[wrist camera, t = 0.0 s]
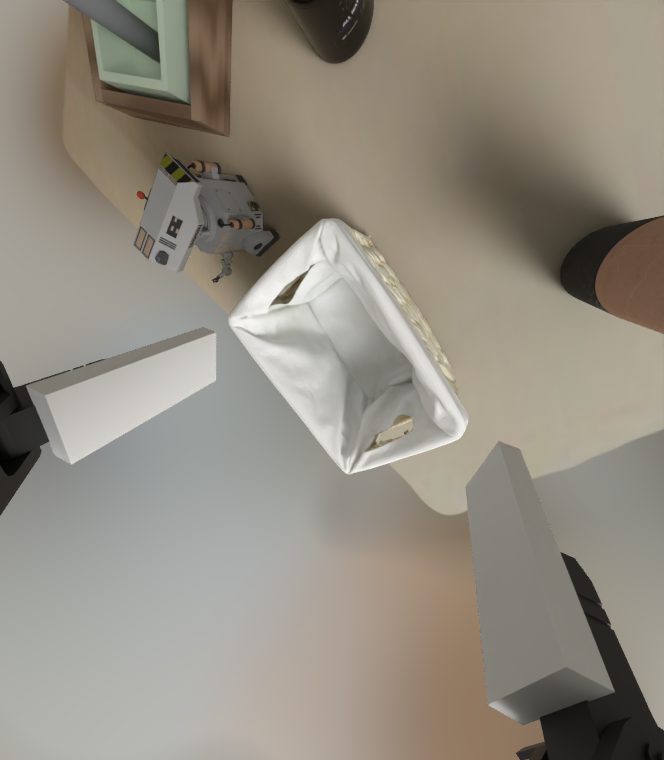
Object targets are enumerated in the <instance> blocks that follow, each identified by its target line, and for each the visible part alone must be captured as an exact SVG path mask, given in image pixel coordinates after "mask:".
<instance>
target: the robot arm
mask: <svg viewBox="0 0 664 760" xmlns="http://www.w3.org/2000/svg"><path fill="white" fill-rule="evenodd" d="M214 381H216V332H214V331H211V330H209V329H206V328H204V327H202V328H199V329H196V330H194V331H191V332H187V333H184V334H181V335H178V336H175V337H173V338H169V339H166V340H163V341H160V342H157V343H154V344H151V345H148V346H145V347H142V348H139V349H135V350H133V351H129V352H126V353H123V354H121V355H117V356H114V357H112V358H108V359H102V360H99V361H96V362H93V363H89V364H86V366H80V367H77V368H74V369H73V370H72V371H70V370H68V371H65V372H62V373H59V374H55V375H52V376H49V377H46V378H44V379H41V380H37V381H34V382H31V383H28V384H25V385H22V386H18V387H15V388H13V386H12V384H11V381H10V379H9V377H8V374H7V372H6V370H5V368H4V365H3V364H2V362H1V361H0V515H1V514H2V512H3V511H4V509H5V507H6V506H7V505H8V503H9V502H10V500H11V499H12V497H13V496H14V494H15V493H16V491H17V490H18V488H19V487H20V485H21V484H22V482H23V481H24V479H25V478H26V476H27V475H28V473H29V472H30V470H31V469H32V467H33V466H34V464H35V463H36V461H37V460H38V458H39V457H40V454H41V449H40V446H41V445H43V444H45V443H47V442H49V443H50V445H51V448H52V450H53V452H54V455H55V456H57V457H59V458H61V459H62V460H64V461H66V462H68V463H69V464H73V463H75V462H77V461H78V460H80V459H82V458H84V457H85V456H87V455H89V454H90V453H92V452H94V451H96V450H97V449H99V448H101V447H102V446H104V445H106V444H108V443H109V442H111V441H113V440H114V439H116V438H118V437H120V436H121V435H123V434H124V433H126V432H128V431H130V430H132V429H133V428H135V427H137V426H138V425H140V424H142V423H144V422H145V421H147V420H149V419H150V418H152V417H154V416H156V415H157V414H159V413H161V412H162V411H164V410H166V409H168V408H169V407H171V406H173V405H175V404H176V403H178V402H179V401H181V400H183V399H185V398H186V397H188V396H190V395H192V394H193V393H195V392H197V391H199V390H200V389H202V388H204V387H205V386H207V385H209V384H210V383H212V382H214ZM466 495H467V505H468V515H469V525H470V535H471V544H472V554H473V564H474V573H475V584H476V594H477V603H478V613H479V623H480V633H481V643H482V653H483V662H484V672H485V682H486V692H487V702H488V705H489V706H491V707H493V708H494V709H496V710H498V711H500V712H502V713H503V714H505V715H507V716H508V717H510V718H512V719H513V720H515V721H517V722H519V723H520V724H522V725H525V724H528V723H530V722H534V721H536V720H539V719H540V721H541V726H542V730H543V735H544V740H545V742H542V743H538V744H535V745H532V746H528V747H525V748H522V749H521V750H520V751H518V752H517V753H516V754H517V755H518V757H519V759H520V760H525V759H529V760H664V730H663V729H661V728H659V727H658V726H657V724H656V722H655V720H654V718H653V716H652V714H651V712H650V710H649V708H648V705H647V703H646V701H645V699H644V697H643V694H642V692H641V690H640V688H639V685H638V683H637V681H636V679H635V677H634V674H633V672H632V670H631V668H630V666H629V663H628V661H627V659H626V657H625V655H624V652H623V650H622V648H621V646H620V644H619V641H618V639H617V637H616V635H615V632H614V630H612V629H611V628H610V627H611V623H610V621H609V619H608V617H607V615H606V612H605V610H604V609H602V607H601V606H602V604H601V601H600V599H599V597H598V595H597V592H596V590H595V588H594V586H593V584H592V582H591V580H590V579H589V577H588V576H587V575H586V573H585V572H584V570H583V569H582V568H581V566H580V565H579V564H578V562H577V561H576V560H575V558H573V557H570V556H568V555H566V554H564V553H561V552H560V551H559V548H558V545H557V543H556V540H555V538H554V535H553V533H552V530H551V527H550V525H549V523H548V520H547V517H546V515H545V512H544V510H543V507H542V504H541V502H540V499H539V497H538V494H537V492H536V489H535V487H534V484H533V482H532V479H531V476H530V474H529V471H528V469H527V466H526V464H525V461H524V459H523V456H522V453H521V451H520V449H518V448H516V447H513V446H510V445H508V444H505V443H503V442H500V441H499V442H498V443H497V444H496V446H495V447H494V449H493V450H492V451H491V453H490V454H489V455H488V457H487V458H486V460H485V461H484V462H483V464H482V465H481V467H480V468H479V469H478V471H477V472H476V474H475V475H474V476H473V478H472V479H471V480H470V482H469V483H468V485H467V486H466Z"/></svg>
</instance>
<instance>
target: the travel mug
mask: <svg viewBox="0 0 664 760" xmlns="http://www.w3.org/2000/svg"><path fill="white" fill-rule="evenodd" d="M561 281H562V284H563V286H564V288H565V289H566V291H567V292H568V293H569V294H571V295H572V296H574V297H575V298H577V299H579V300H581V301H584V302H586V303H588V304H590V305H592V306H594V307H597V308H599V309H601V310H603V311H605V312H607V313H610V314H612V315H614V316H616V317H619V318H621V319H624V320H627V321H629V322H632V323H635V324H638V325H640V326H643V327H646V328H649V329H651V330H654V331H657V332H660V333H662V334H664V216H659V217H654V218H649V219H644V220H639V221H634V222H629V223H624V224H619V225H615V226H610V227H606V228H603V229H600V230H598V231H596V232H593V233H591V234H590V235H588V236H586V237H585V238H583V239H582V240H581V241H580V242H578V243H577V244H576V245H575V246H574V247H573V248H572V249H571V251H570V252H569V253H568V255H567V256H566V258H565V260H564V262H563V265H562V268H561Z"/></svg>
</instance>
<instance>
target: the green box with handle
mask: <svg viewBox="0 0 664 760" xmlns="http://www.w3.org/2000/svg"><path fill="white" fill-rule="evenodd" d="M63 1H65V2H66V3H68V4H69V5H71V6H72V7H74V8H75V9H77V10H79V11H80V12H82V13H83V14H85V15H86V16H88V17H89V18H91V25H92V31H93V38H94V45H95V51H96V58H97V65H98V71H99V78H100V80H102V81H104V82H106V83H108V84H110V85H112V86H114V87H116V88H118V89H120V90H122V91H124V92H126V93H128V94H131V95H136V96H142V97H147V98H152V99H158V100H163V101H169V102H174V103H179V104H185V105H190V106H191V89H190V56H189V24H188V0H63Z"/></svg>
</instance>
